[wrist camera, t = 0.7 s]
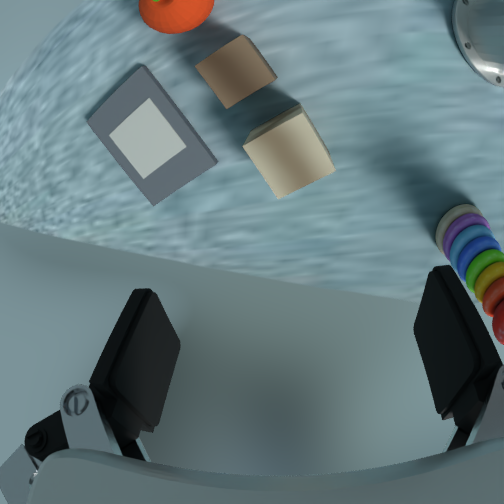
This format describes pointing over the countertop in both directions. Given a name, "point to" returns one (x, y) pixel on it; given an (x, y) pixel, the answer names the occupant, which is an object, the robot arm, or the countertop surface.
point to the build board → (150, 137)
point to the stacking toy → (475, 259)
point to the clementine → (174, 14)
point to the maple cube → (289, 152)
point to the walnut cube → (236, 71)
